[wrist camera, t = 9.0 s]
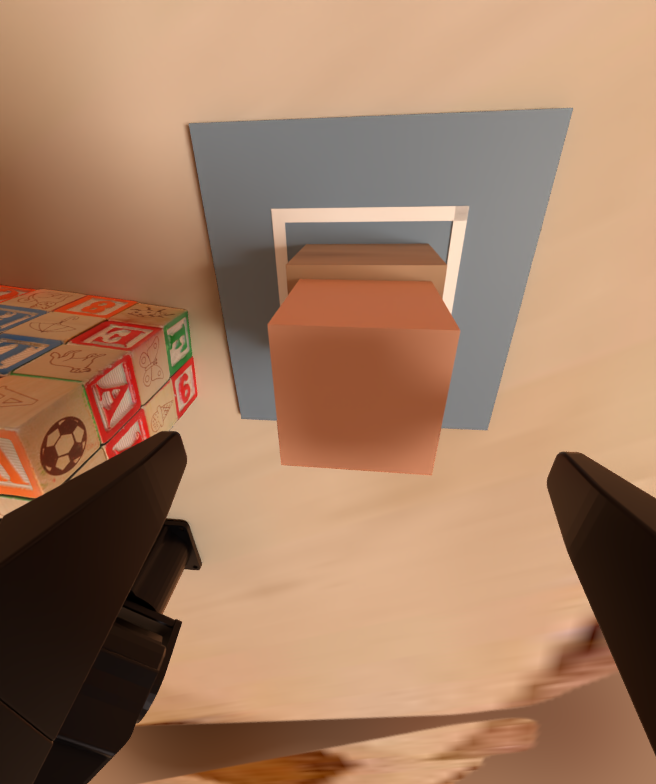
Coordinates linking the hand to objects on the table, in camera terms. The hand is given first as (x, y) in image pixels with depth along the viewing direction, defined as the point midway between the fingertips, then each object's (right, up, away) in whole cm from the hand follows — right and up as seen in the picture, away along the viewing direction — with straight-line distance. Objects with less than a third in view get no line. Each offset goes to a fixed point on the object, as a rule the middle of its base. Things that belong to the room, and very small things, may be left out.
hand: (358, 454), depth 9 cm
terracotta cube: (+1, +4, +6) cm, 7 cm away
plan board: (+1, +7, +11) cm, 13 cm away
